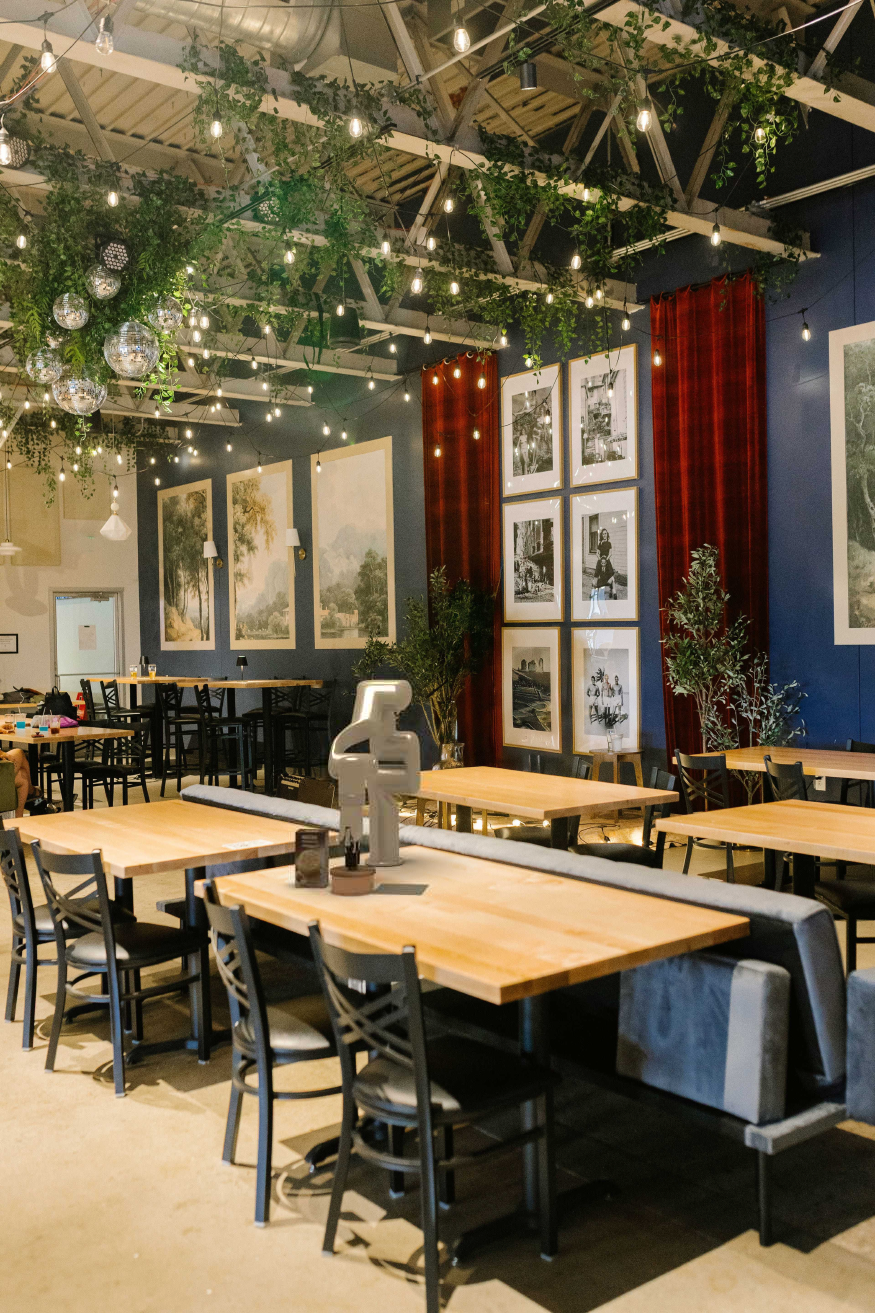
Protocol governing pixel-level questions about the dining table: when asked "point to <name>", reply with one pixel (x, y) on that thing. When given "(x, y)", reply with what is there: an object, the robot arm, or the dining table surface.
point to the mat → (401, 889)
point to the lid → (353, 870)
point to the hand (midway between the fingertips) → (352, 865)
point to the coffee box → (312, 858)
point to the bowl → (352, 885)
